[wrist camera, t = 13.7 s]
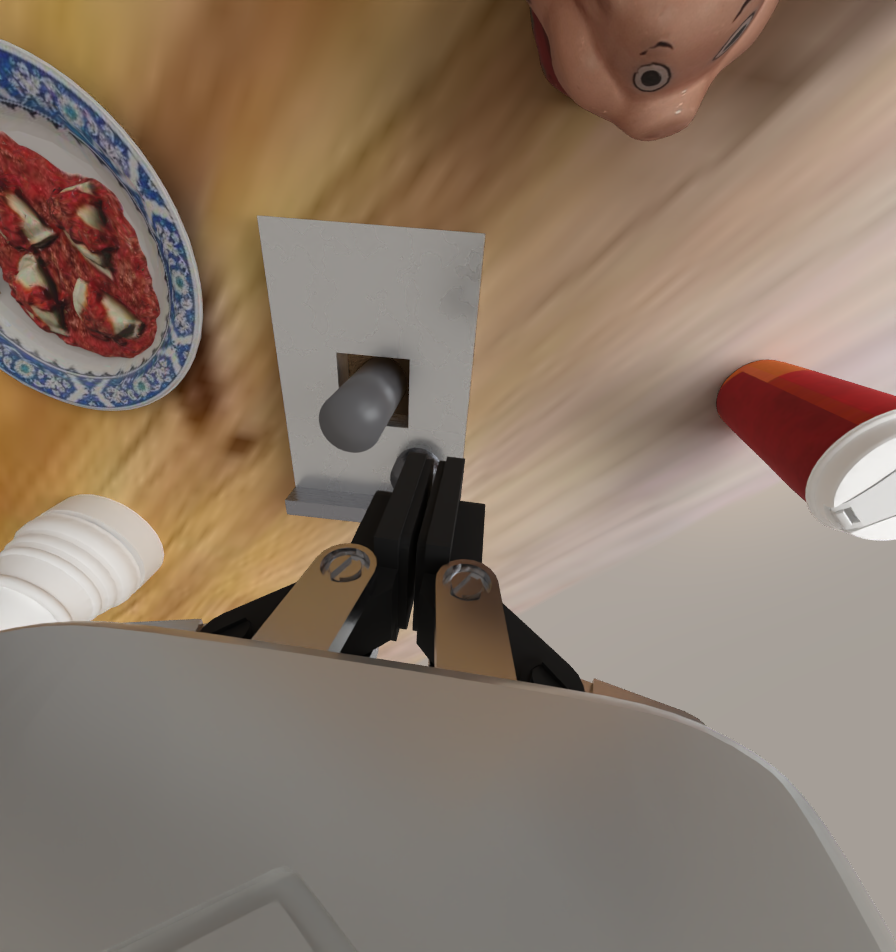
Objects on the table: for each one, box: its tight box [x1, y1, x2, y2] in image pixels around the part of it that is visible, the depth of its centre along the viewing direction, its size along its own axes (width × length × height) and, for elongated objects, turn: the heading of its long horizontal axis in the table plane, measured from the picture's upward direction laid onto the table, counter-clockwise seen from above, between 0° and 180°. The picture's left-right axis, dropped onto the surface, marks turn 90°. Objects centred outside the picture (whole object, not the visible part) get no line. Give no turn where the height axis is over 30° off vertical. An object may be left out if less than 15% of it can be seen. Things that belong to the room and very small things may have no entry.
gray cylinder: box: [319, 357, 407, 453], centre depth 32 cm, size 4×4×10 cm
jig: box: [257, 216, 486, 522], centre depth 34 cm, size 24×16×5 cm, turn 176°
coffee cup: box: [716, 360, 896, 540], centre depth 28 cm, size 8×8×15 cm
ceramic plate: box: [0, 39, 203, 411], centre depth 33 cm, size 26×26×3 cm
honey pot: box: [0, 494, 164, 631], centre depth 42 cm, size 13×13×18 cm
